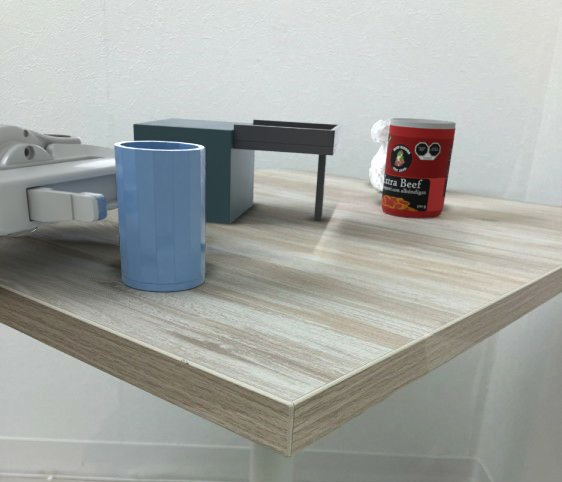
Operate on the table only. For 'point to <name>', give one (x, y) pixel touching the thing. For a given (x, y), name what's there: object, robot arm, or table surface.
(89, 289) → the table surface
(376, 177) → the bust
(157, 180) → the cylindrical container
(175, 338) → the table surface
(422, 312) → the table surface
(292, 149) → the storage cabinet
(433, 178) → the canned food
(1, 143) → the robot arm
